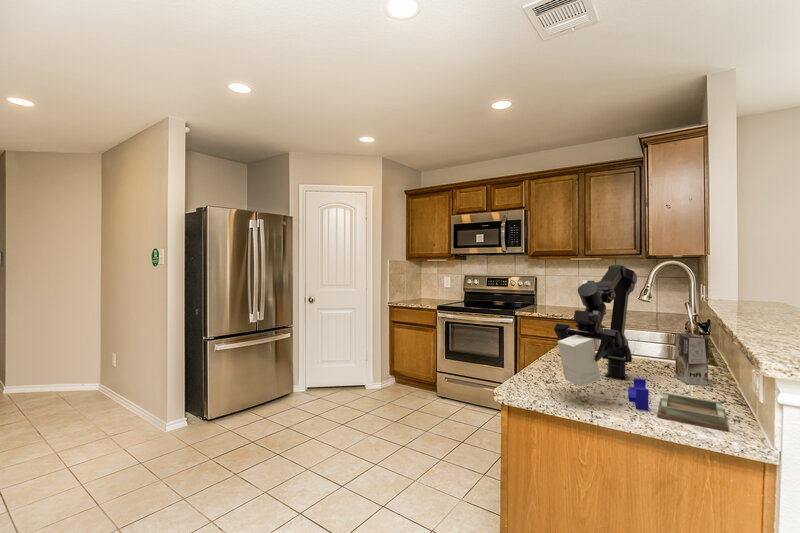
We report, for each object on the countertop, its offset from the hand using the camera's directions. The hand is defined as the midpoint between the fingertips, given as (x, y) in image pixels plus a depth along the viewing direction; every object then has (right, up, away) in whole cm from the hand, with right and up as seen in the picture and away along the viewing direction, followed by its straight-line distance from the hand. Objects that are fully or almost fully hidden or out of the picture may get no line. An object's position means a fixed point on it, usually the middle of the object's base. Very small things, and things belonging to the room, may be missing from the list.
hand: (579, 357), depth 120 cm
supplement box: (+1, -7, +1) cm, 7 cm away
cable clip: (+17, -14, 0) cm, 22 cm away
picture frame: (+27, -14, -10) cm, 31 cm away
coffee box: (+49, -13, +21) cm, 55 cm away
